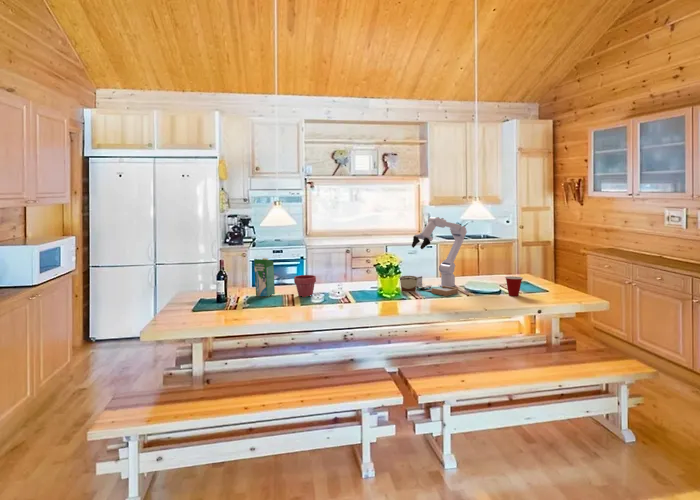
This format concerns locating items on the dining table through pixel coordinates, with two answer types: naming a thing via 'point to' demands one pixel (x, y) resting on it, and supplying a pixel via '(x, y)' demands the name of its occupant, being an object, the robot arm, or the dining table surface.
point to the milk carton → (264, 277)
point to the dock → (444, 290)
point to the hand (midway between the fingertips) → (416, 247)
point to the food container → (408, 283)
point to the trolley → (420, 285)
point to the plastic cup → (513, 285)
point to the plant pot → (305, 284)
